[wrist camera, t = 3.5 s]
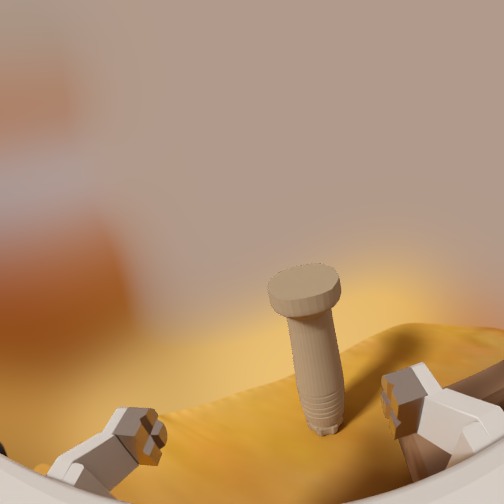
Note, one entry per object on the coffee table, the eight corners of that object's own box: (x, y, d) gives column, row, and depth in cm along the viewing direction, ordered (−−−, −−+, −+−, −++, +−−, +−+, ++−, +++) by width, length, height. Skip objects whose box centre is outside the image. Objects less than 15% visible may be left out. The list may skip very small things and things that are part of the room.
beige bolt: (346, 398, 26) (329, 259, 22) (357, 444, 20) (346, 289, 16) (299, 407, 26) (269, 272, 23) (302, 455, 20) (266, 305, 17)
